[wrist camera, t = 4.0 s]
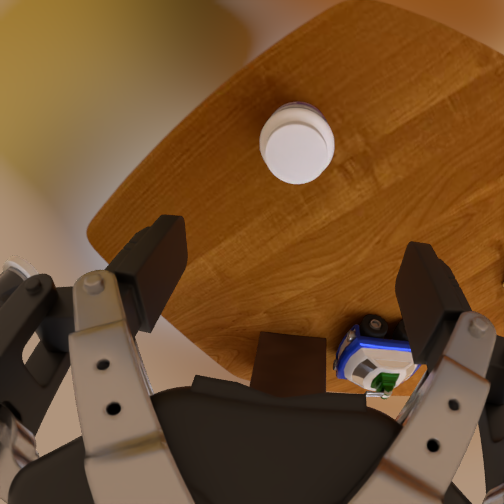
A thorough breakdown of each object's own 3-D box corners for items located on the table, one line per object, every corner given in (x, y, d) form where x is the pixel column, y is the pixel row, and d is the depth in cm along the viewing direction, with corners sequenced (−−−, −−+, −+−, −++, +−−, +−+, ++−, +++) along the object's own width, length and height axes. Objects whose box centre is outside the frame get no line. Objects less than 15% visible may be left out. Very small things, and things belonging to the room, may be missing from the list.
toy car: (349, 309, 37) (354, 371, 29) (429, 321, 36) (446, 377, 28) (328, 355, 42) (328, 411, 34) (401, 363, 41) (410, 415, 33)
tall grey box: (257, 369, 46) (221, 544, 23) (260, 331, 41) (214, 542, 18) (314, 375, 45) (298, 552, 22) (326, 338, 40) (313, 552, 17)
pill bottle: (319, 163, 28) (325, 204, 20) (264, 149, 28) (245, 184, 20) (334, 109, 25) (349, 126, 17) (275, 94, 25) (261, 103, 17)
